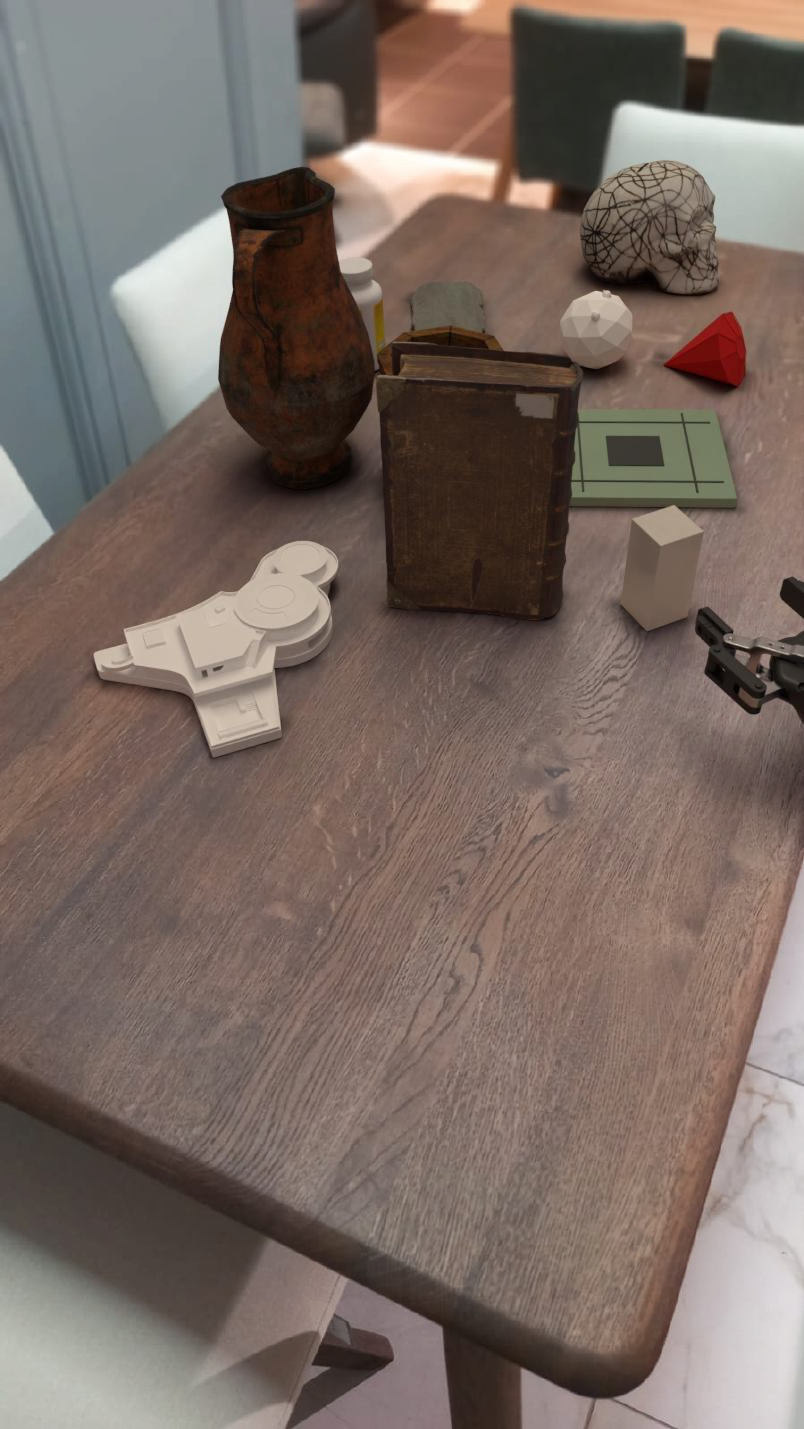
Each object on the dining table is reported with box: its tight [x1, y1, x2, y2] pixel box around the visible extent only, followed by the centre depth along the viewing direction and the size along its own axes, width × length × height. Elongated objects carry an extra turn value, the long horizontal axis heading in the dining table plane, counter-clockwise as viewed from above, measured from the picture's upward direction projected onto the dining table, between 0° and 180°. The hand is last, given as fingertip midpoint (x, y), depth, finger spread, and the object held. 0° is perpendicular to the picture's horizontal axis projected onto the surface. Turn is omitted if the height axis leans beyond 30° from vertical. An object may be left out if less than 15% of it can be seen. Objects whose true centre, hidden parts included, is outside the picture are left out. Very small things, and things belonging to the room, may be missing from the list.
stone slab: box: [410, 281, 487, 333], centre depth 146 cm, size 22×3×10 cm
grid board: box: [569, 408, 738, 509], centre depth 123 cm, size 20×18×1 cm
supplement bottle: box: [338, 256, 387, 372], centre depth 136 cm, size 7×7×13 cm
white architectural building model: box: [93, 540, 340, 759], centre depth 101 cm, size 23×25×4 cm
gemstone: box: [663, 311, 747, 388], centre depth 135 cm, size 9×9×10 cm
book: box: [375, 342, 584, 621], centre depth 98 cm, size 17×7×25 cm, turn 73°
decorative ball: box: [559, 289, 634, 370], centre depth 136 cm, size 9×10×12 cm
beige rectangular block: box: [620, 505, 705, 632], centre depth 101 cm, size 5×5×10 cm
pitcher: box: [217, 166, 376, 490], centre depth 113 cm, size 17×21×30 cm
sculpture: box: [579, 159, 720, 295], centre depth 150 cm, size 15×20×15 cm
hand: (742, 600), depth 91 cm, fingers open, 8 cm apart
